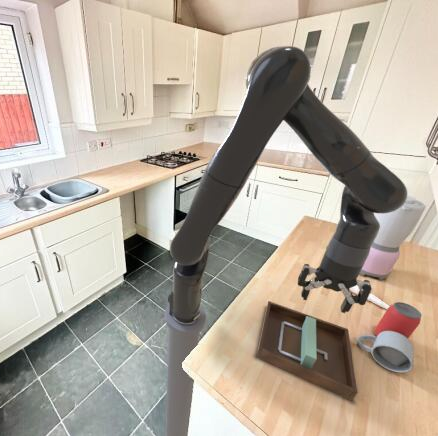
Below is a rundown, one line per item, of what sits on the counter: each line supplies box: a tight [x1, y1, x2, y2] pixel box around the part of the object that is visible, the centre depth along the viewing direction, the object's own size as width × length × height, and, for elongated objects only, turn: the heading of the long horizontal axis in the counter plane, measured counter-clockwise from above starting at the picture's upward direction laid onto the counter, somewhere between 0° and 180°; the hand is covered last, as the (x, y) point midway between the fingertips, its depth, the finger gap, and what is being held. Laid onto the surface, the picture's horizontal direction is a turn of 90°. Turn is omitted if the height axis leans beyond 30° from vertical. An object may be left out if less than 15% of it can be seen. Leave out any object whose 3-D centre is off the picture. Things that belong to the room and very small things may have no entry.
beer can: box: [374, 301, 423, 339], centre depth 69 cm, size 7×7×12 cm
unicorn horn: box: [350, 285, 391, 310], centre depth 86 cm, size 5×24×5 cm, turn 27°
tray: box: [256, 300, 358, 402], centre depth 70 cm, size 22×20×4 cm
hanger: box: [278, 316, 328, 369], centre depth 69 cm, size 12×14×5 cm
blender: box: [359, 195, 426, 281], centre depth 92 cm, size 16×12×32 cm
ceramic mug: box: [356, 331, 415, 373], centre depth 66 cm, size 11×8×8 cm
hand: (323, 304), depth 65 cm, fingers open, 8 cm apart
